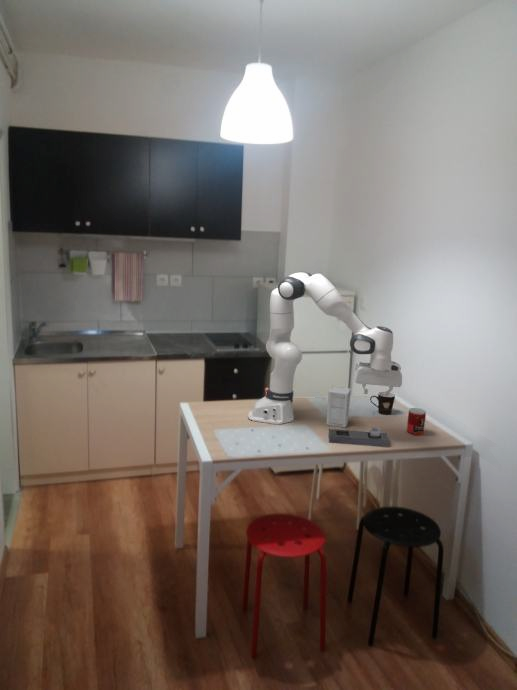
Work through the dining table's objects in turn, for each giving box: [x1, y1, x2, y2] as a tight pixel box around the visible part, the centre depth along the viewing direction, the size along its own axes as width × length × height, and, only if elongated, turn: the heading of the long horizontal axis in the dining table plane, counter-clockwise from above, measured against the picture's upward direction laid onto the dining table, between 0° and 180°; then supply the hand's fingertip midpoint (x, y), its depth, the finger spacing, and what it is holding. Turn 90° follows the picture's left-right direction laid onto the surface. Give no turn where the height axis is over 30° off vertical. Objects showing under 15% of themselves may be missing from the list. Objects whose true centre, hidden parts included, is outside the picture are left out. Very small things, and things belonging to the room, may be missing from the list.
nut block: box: [368, 426, 381, 438], centre depth 255 cm, size 4×4×6 cm
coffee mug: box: [369, 391, 396, 416], centre depth 295 cm, size 12×9×10 cm
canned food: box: [406, 407, 427, 437], centre depth 268 cm, size 8×8×11 cm
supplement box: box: [326, 386, 352, 428], centre depth 275 cm, size 10×9×17 cm
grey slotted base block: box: [327, 428, 390, 448], centre depth 256 cm, size 26×9×3 cm, turn 85°
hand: (376, 394), depth 252 cm, fingers open, 8 cm apart
